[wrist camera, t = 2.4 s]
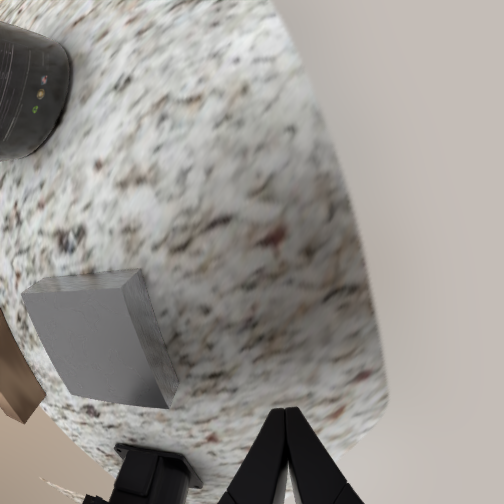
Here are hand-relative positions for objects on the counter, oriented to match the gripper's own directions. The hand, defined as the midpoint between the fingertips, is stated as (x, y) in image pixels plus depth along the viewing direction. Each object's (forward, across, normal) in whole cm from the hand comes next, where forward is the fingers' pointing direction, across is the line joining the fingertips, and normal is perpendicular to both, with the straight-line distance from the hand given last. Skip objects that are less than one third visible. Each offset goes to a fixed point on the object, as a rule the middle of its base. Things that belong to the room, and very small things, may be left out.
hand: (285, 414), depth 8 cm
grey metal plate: (+6, +9, 0) cm, 11 cm away
